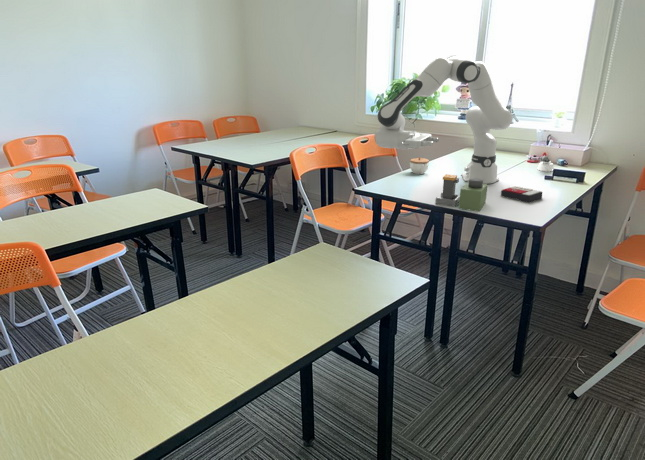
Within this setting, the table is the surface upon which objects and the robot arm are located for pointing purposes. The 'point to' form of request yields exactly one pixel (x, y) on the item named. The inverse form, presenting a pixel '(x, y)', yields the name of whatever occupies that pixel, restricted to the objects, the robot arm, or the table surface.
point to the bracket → (448, 200)
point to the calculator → (522, 194)
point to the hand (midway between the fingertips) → (435, 142)
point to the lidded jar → (419, 165)
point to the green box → (473, 195)
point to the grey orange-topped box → (449, 186)
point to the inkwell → (545, 164)
